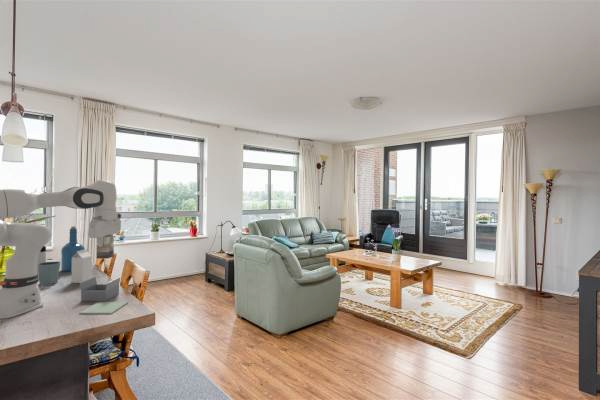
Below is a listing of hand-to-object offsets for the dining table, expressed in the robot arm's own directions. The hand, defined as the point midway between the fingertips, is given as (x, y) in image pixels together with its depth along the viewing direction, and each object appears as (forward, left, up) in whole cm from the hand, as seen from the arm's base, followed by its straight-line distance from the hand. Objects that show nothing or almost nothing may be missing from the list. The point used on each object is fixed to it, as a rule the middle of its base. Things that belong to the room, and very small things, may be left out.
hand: (105, 245), depth 147 cm
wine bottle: (+74, +63, -29) cm, 102 cm away
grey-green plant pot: (+40, +54, -29) cm, 74 cm away
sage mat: (-1, -1, -29) cm, 29 cm away
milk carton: (+44, +38, -29) cm, 65 cm away
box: (0, 0, -6) cm, 6 cm away
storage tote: (+15, +10, -29) cm, 34 cm away
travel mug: (+51, +68, -29) cm, 90 cm away
